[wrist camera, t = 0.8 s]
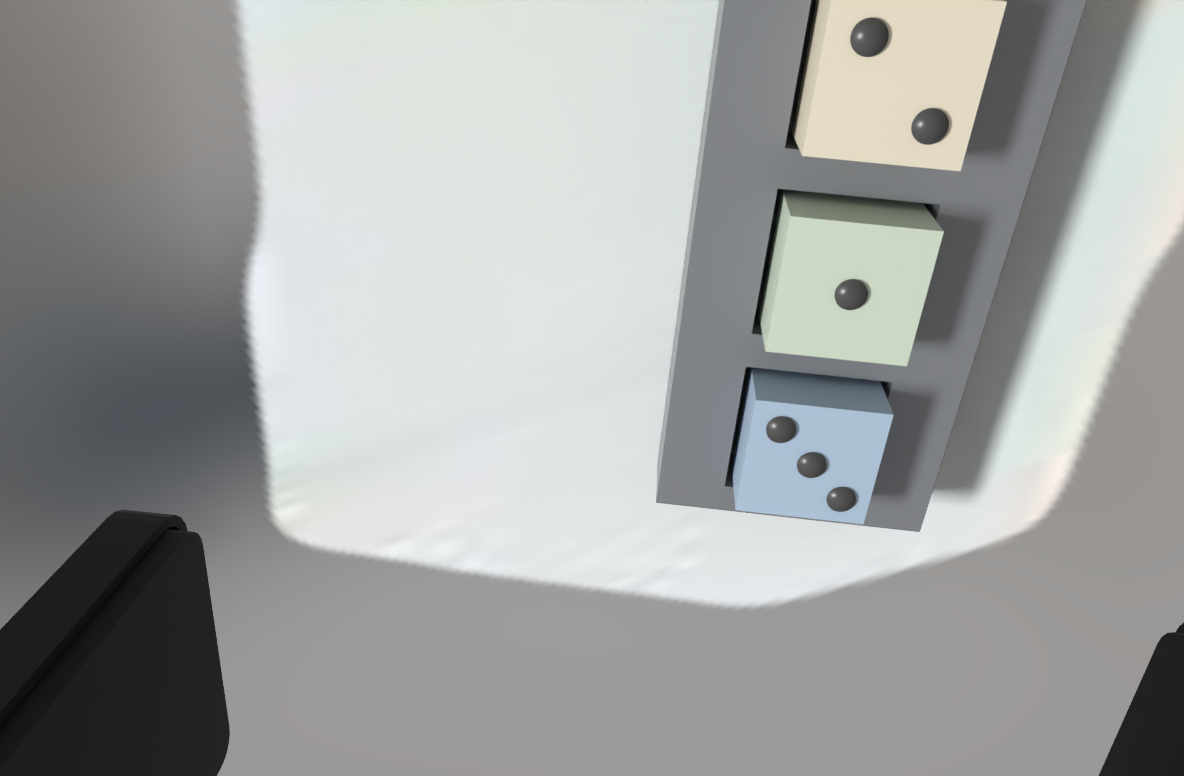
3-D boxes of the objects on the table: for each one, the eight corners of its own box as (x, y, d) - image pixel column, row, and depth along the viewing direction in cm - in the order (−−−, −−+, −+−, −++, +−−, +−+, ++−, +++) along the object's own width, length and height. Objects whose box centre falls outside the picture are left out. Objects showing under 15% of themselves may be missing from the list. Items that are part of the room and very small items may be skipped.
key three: (750, 362, 36) (756, 401, 34) (878, 376, 36) (894, 416, 34) (731, 467, 39) (735, 512, 36) (851, 480, 39) (863, 526, 36)
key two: (820, -24, 30) (834, -14, 27) (978, -10, 29) (1008, 2, 27) (791, 133, 32) (802, 156, 29) (937, 147, 32) (961, 172, 29)
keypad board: (730, -87, 31) (735, -84, 28) (1065, -57, 30) (1102, -51, 28) (657, 462, 41) (656, 502, 39) (904, 490, 41) (919, 532, 38)
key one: (782, 189, 33) (790, 217, 30) (922, 203, 33) (945, 232, 30) (759, 316, 35) (765, 352, 33) (889, 330, 35) (907, 367, 33)
